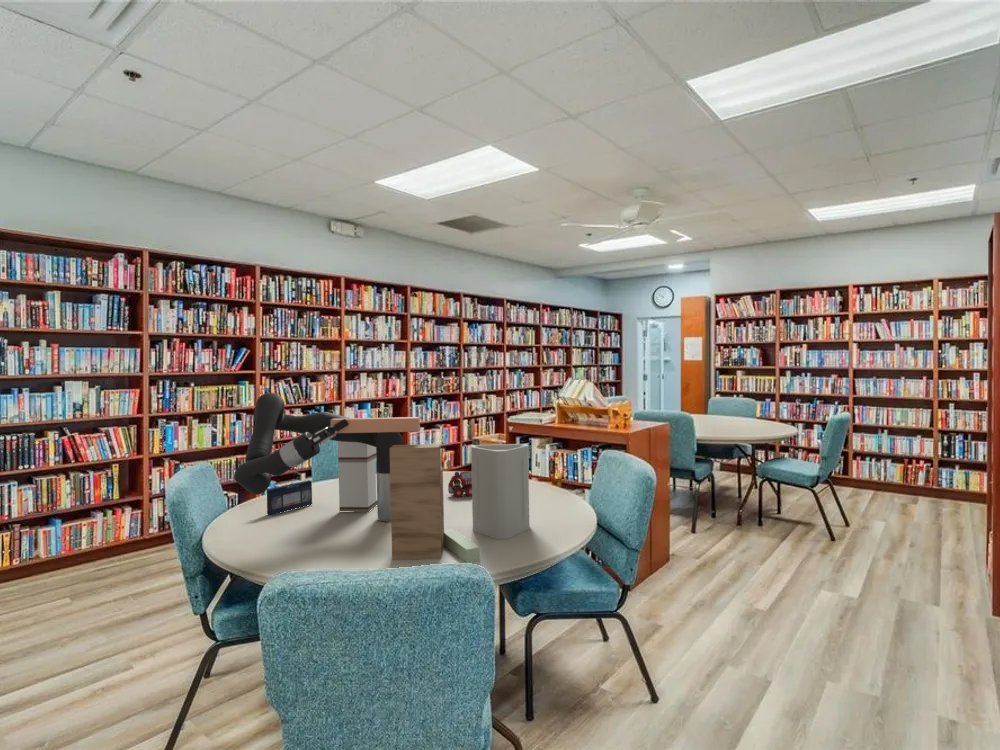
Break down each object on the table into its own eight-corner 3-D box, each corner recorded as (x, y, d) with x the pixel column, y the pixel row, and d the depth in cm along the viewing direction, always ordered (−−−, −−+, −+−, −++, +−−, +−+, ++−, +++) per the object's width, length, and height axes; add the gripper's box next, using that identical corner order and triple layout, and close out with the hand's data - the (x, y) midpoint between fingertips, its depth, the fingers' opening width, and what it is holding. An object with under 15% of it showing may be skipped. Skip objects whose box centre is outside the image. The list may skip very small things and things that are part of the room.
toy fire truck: (447, 494, 232) (446, 470, 232) (475, 492, 235) (474, 468, 235) (449, 498, 226) (449, 473, 225) (478, 496, 229) (478, 471, 228)
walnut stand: (398, 545, 166) (396, 442, 166) (444, 544, 166) (442, 441, 166) (392, 559, 154) (389, 448, 154) (441, 558, 154) (438, 447, 154)
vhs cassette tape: (270, 516, 204) (269, 489, 203) (266, 515, 205) (265, 488, 205) (313, 505, 218) (312, 481, 218) (308, 504, 220) (308, 480, 220)
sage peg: (441, 543, 169) (441, 530, 169) (453, 541, 170) (453, 528, 170) (466, 563, 151) (466, 549, 151) (479, 561, 153) (479, 547, 153)
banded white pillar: (377, 505, 216) (375, 418, 216) (368, 512, 206) (366, 420, 205) (349, 505, 217) (347, 418, 217) (339, 512, 207) (337, 421, 206)
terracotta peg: (334, 431, 164) (334, 418, 164) (420, 429, 165) (419, 416, 165) (330, 433, 160) (330, 419, 160) (418, 431, 161) (418, 418, 161)
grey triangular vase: (471, 540, 170) (470, 451, 170) (473, 526, 185) (471, 445, 185) (532, 538, 171) (530, 450, 170) (528, 524, 186) (527, 443, 185)
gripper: (313, 456, 169) (360, 428, 170) (298, 465, 155) (349, 434, 156) (301, 436, 169) (348, 408, 170) (284, 442, 155) (336, 412, 155)
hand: (348, 420), depth 163 cm, fingers closed on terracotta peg, 4 cm apart
